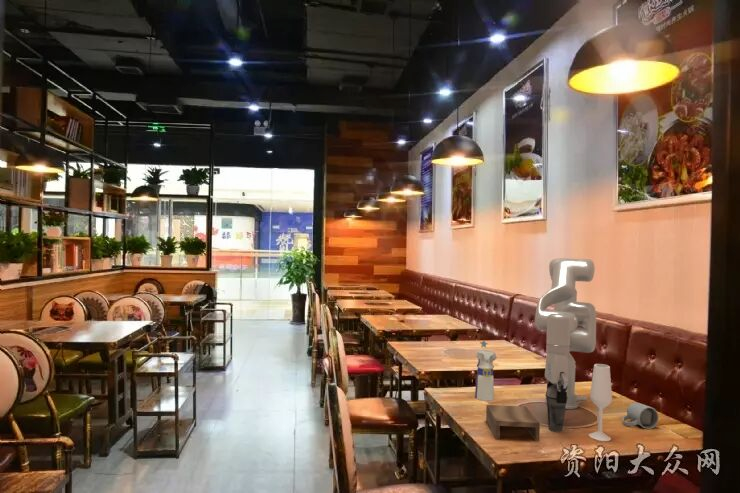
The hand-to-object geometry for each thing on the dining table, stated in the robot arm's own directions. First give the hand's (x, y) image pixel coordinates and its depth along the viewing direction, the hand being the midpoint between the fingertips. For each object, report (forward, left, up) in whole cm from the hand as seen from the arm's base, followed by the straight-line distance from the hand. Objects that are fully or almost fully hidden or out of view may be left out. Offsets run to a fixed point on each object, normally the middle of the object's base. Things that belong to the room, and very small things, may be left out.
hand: (556, 398), depth 165 cm
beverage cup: (0, -1, -11) cm, 11 cm away
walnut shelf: (+16, +2, -11) cm, 19 cm away
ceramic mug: (-33, -8, -11) cm, 35 cm away
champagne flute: (-13, +4, -11) cm, 18 cm away
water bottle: (+18, -33, -11) cm, 39 cm away
